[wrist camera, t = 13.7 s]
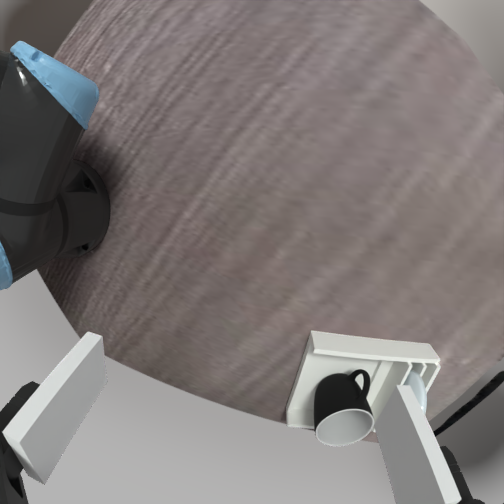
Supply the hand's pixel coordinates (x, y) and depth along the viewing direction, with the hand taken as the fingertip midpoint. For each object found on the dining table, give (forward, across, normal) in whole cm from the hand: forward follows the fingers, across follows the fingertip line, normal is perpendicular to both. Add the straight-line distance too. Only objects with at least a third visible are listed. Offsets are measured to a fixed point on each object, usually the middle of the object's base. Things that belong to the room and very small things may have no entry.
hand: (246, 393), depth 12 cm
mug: (+31, +17, -23) cm, 42 cm away
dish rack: (+32, +21, -23) cm, 44 cm away
